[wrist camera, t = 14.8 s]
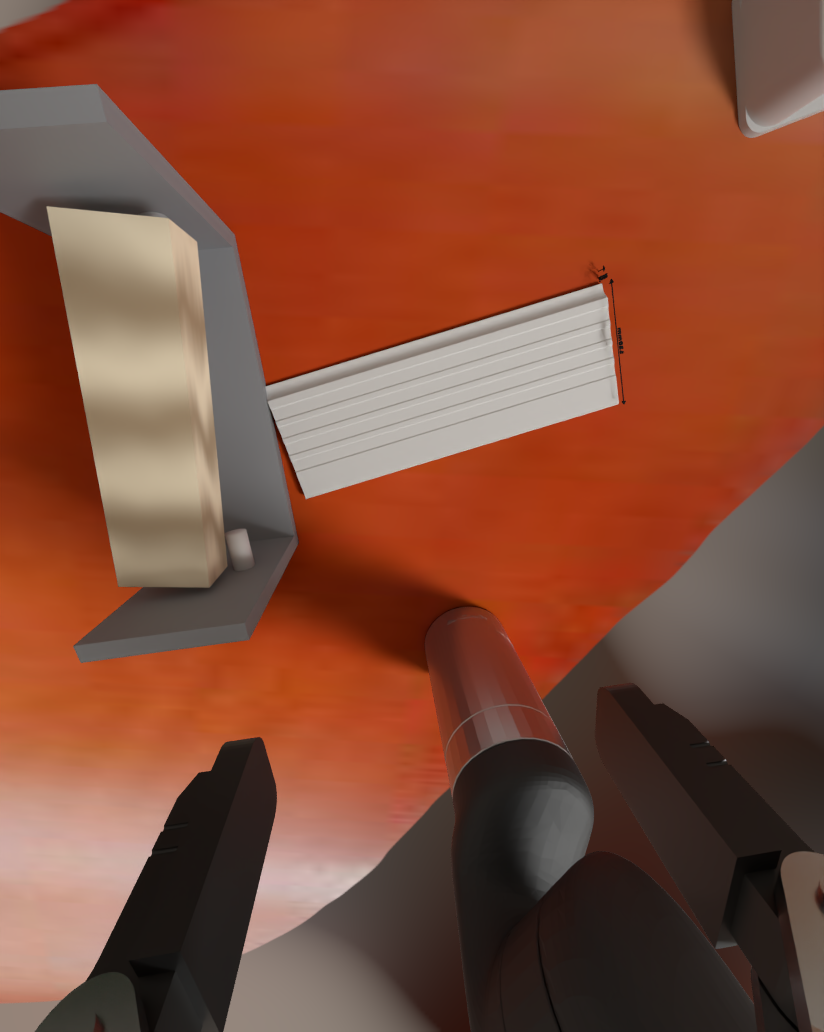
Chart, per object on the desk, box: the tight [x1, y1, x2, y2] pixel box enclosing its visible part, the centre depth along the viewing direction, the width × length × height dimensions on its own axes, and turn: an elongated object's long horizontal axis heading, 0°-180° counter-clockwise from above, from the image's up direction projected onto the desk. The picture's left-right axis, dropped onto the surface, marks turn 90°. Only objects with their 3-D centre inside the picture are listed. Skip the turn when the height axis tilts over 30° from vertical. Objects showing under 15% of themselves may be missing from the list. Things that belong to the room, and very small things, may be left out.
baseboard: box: [265, 266, 626, 499], centre depth 35 cm, size 31×3×12 cm
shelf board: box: [46, 206, 227, 588], centre depth 26 cm, size 22×6×4 cm, turn 177°
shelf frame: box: [0, 84, 299, 663], centre depth 27 cm, size 26×10×16 cm, turn 6°
